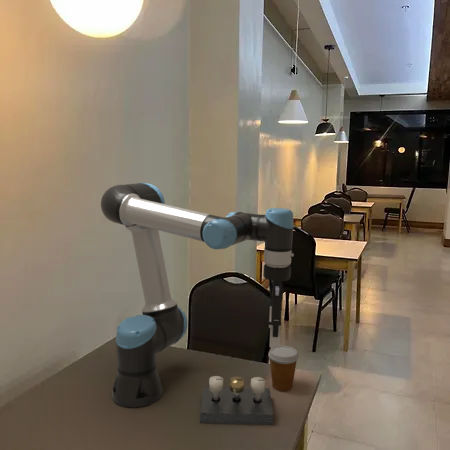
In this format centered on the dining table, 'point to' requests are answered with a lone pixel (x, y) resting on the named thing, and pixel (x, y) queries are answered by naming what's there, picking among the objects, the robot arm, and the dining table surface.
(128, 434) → the dining table surface
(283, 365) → the disposable coffee cup
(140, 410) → the dining table surface
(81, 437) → the dining table surface
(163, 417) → the dining table surface
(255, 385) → the knob
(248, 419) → the mount panel
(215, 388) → the knob
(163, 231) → the robot arm
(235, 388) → the brass pot knob
